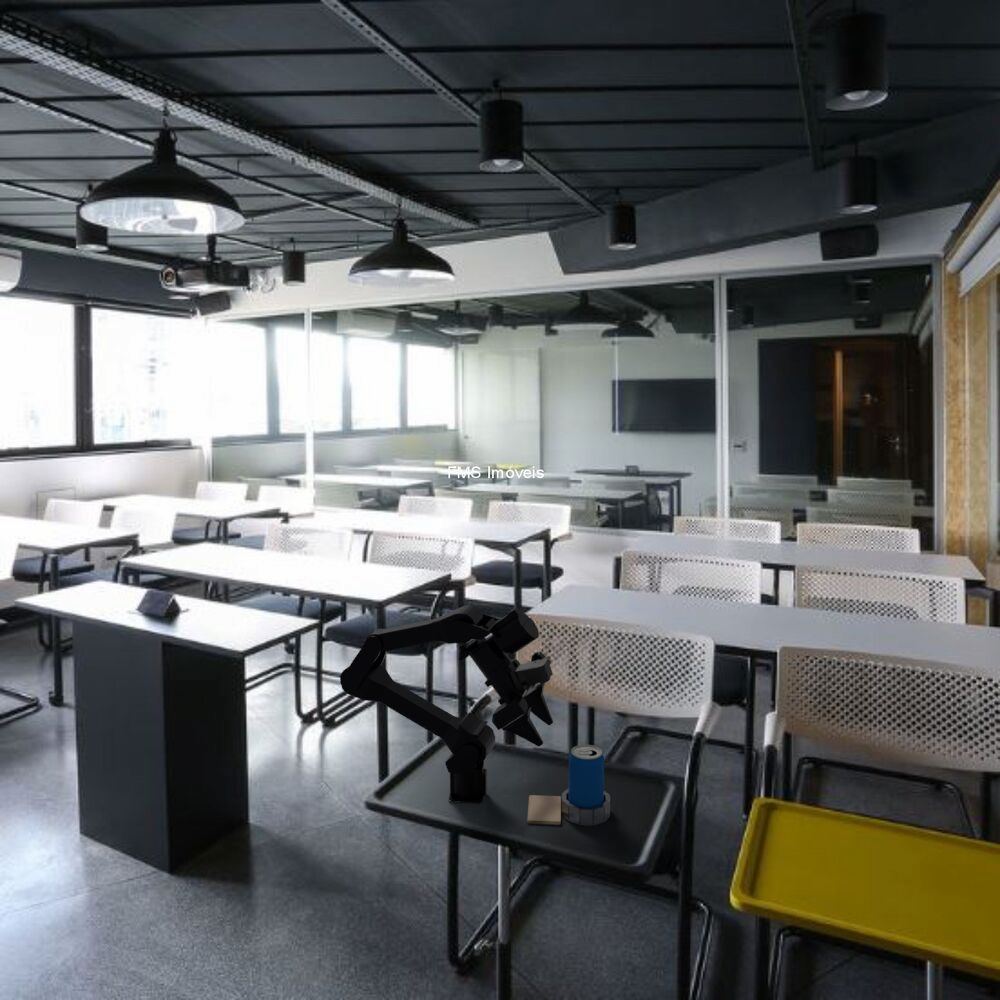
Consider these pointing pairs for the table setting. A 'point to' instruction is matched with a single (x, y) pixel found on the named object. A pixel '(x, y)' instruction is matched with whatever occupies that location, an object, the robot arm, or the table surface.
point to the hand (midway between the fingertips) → (546, 734)
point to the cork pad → (544, 810)
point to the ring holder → (585, 811)
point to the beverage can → (586, 776)
